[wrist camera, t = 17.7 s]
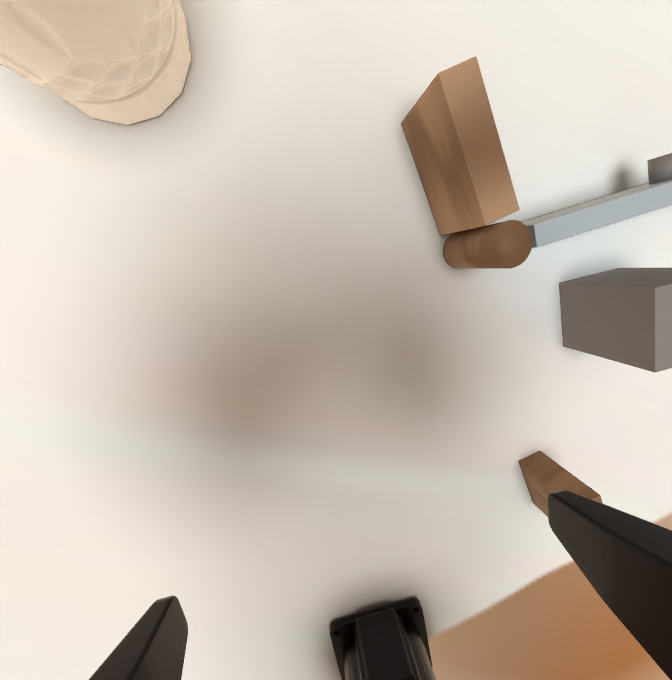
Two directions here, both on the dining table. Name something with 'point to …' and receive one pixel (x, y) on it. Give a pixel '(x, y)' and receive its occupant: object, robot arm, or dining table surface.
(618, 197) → the door
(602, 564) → the robot arm
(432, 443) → the dining table surface
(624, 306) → the block
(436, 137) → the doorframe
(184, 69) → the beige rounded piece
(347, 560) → the dining table surface
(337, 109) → the dining table surface
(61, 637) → the dining table surface
